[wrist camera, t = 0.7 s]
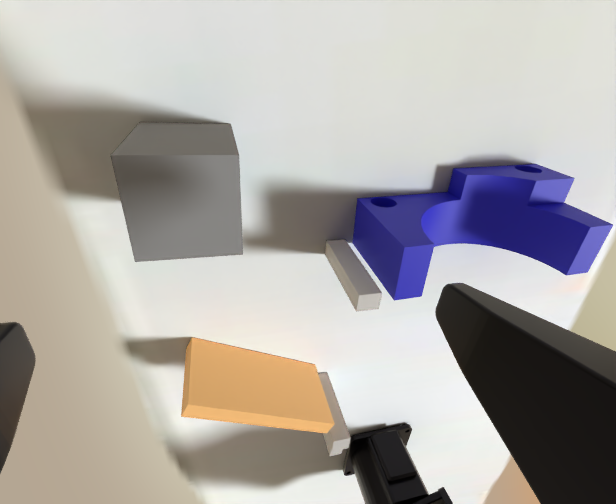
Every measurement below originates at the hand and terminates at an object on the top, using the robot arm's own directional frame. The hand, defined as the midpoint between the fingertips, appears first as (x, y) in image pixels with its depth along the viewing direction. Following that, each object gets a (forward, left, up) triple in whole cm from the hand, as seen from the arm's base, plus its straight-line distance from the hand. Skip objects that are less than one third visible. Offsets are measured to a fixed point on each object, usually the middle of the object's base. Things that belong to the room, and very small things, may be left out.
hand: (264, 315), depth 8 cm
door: (-15, -1, -12) cm, 19 cm away
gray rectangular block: (0, +2, -12) cm, 12 cm away
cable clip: (-3, -13, -12) cm, 18 cm away
